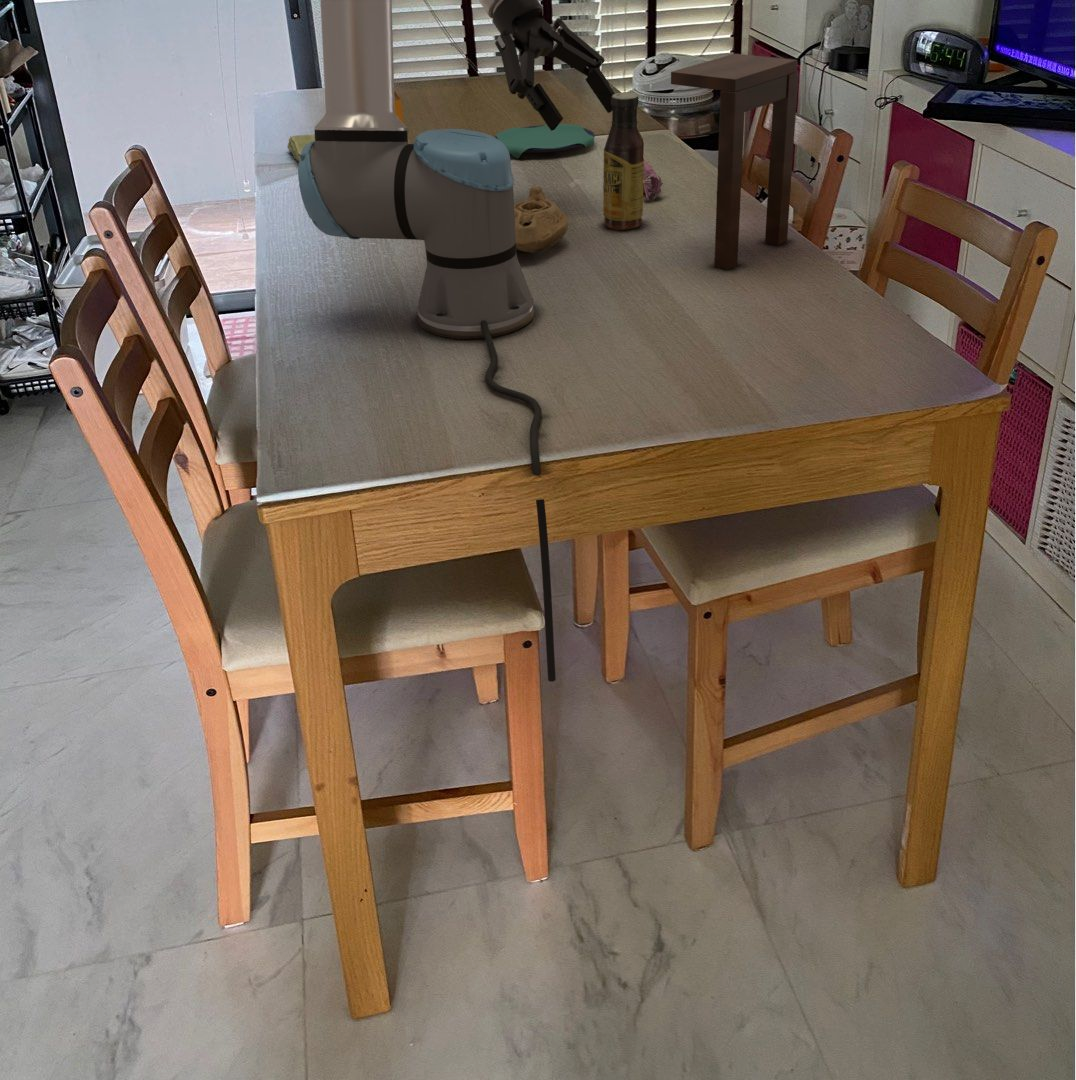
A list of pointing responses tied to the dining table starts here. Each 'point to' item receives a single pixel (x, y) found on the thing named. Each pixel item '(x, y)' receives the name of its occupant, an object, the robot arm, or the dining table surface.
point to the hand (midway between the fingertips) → (586, 115)
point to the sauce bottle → (623, 166)
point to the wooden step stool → (742, 90)
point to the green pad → (545, 138)
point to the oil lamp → (538, 222)
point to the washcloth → (299, 144)
